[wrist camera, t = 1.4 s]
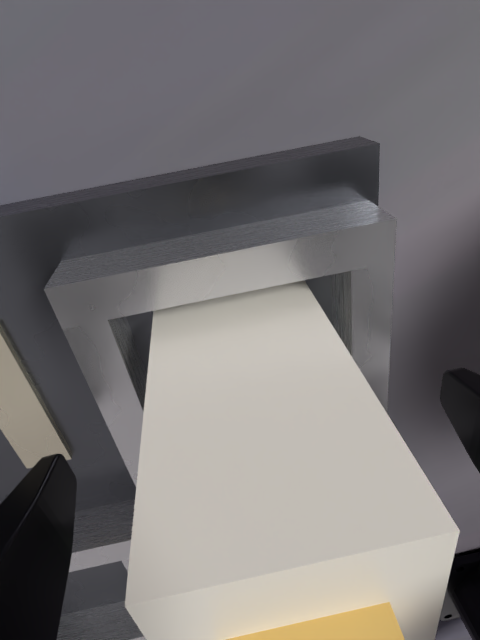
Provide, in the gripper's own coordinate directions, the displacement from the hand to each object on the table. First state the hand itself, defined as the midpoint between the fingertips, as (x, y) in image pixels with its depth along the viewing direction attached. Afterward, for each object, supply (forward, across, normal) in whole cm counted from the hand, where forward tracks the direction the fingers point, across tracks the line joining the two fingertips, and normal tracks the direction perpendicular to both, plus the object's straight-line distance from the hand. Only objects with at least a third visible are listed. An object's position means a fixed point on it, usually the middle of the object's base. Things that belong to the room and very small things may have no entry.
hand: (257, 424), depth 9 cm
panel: (+4, +4, +4) cm, 7 cm away
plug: (+3, 0, 0) cm, 3 cm away
